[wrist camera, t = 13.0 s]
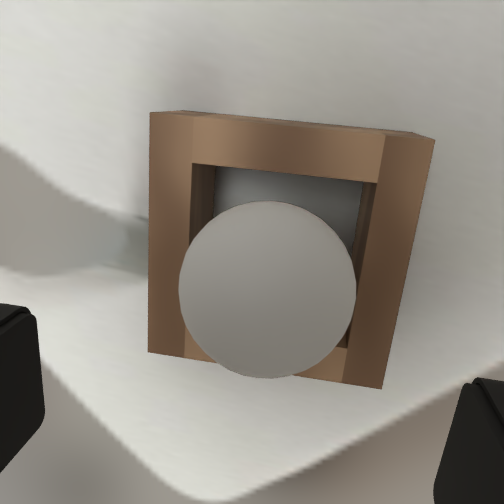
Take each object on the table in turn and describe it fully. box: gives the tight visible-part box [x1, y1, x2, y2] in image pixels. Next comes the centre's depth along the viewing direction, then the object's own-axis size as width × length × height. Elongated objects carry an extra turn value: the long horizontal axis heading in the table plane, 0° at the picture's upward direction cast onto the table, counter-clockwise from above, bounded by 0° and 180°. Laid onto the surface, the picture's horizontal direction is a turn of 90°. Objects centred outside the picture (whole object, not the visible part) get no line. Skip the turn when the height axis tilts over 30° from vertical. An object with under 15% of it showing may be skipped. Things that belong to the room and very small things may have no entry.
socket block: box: [148, 110, 435, 389], centre depth 21 cm, size 11×11×4 cm
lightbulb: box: [178, 201, 356, 378], centre depth 18 cm, size 6×6×11 cm
